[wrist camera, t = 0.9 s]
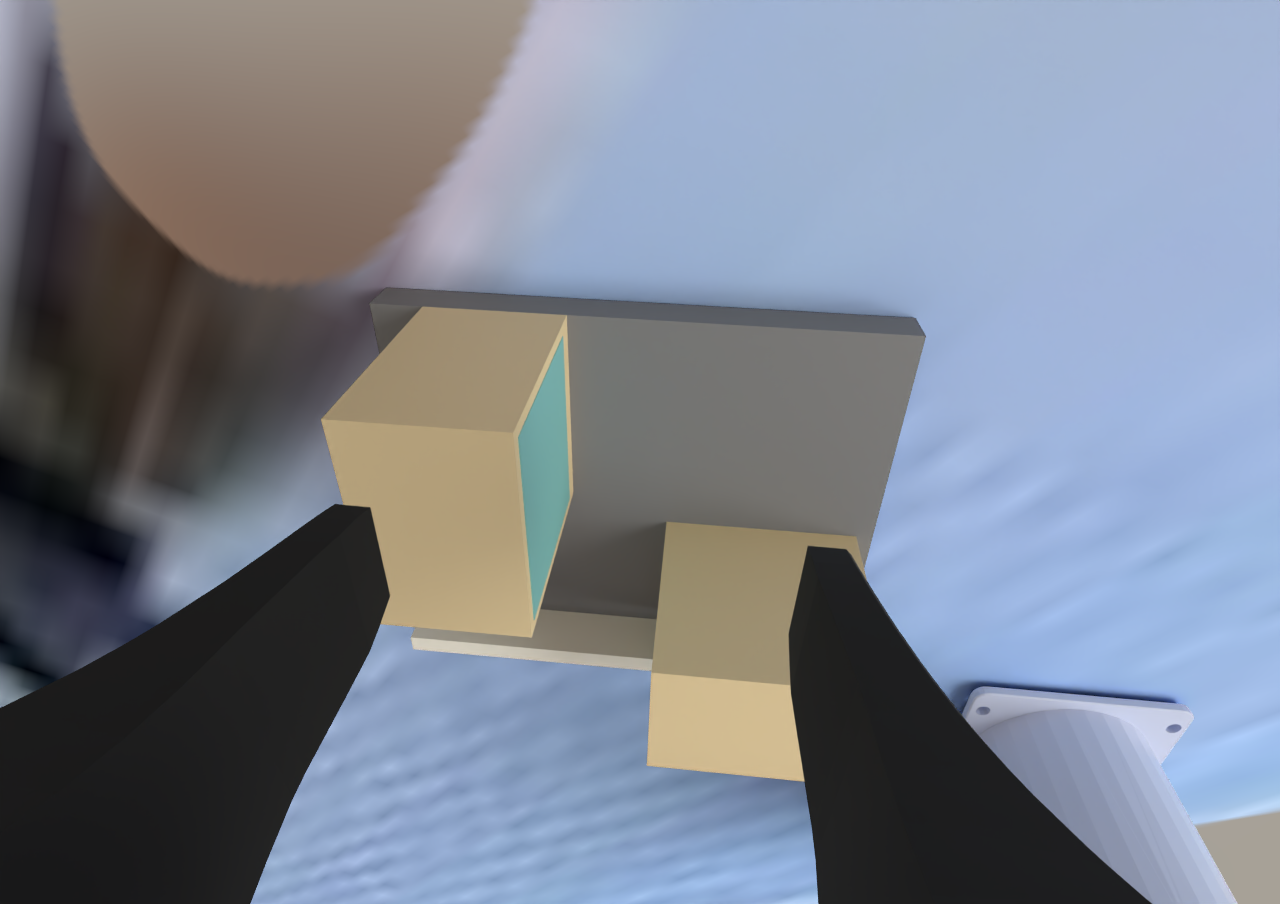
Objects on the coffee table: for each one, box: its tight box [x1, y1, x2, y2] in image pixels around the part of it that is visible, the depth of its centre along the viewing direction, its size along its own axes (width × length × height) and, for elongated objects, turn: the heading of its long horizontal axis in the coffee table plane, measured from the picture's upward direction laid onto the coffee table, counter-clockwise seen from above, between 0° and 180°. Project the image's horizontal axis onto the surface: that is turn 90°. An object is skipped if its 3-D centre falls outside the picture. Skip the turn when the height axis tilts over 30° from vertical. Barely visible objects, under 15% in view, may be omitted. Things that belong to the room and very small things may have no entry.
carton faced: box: [647, 522, 866, 782], centre depth 21 cm, size 6×4×6 cm, turn 89°
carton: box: [321, 307, 573, 638], centre depth 19 cm, size 6×4×6 cm, turn 179°
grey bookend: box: [369, 288, 926, 671], centre depth 22 cm, size 12×15×3 cm
